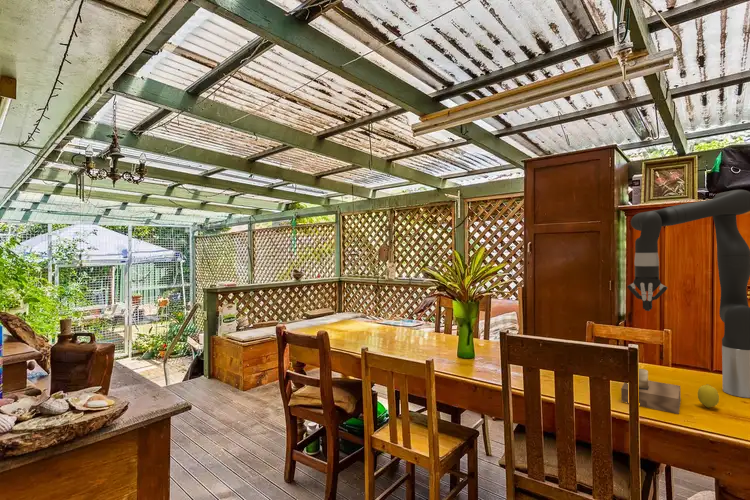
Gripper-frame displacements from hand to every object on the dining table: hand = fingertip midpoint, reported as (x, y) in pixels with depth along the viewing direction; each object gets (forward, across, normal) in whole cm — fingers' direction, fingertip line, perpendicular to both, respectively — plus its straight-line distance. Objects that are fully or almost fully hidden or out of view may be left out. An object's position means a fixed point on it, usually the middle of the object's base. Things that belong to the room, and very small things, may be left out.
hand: (647, 310), depth 146 cm
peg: (+31, +1, +12) cm, 33 cm away
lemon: (+31, -17, +5) cm, 36 cm away
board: (+31, -2, +10) cm, 32 cm away
